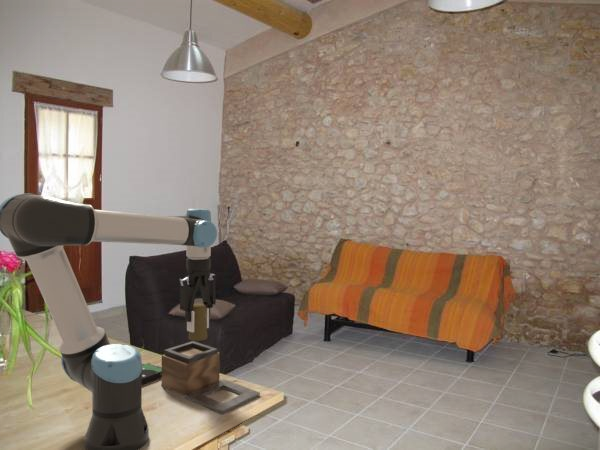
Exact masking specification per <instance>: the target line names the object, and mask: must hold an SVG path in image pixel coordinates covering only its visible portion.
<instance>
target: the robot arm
mask: <svg viewBox="0 0 600 450" xmlns="http://www.w3.org/2000/svg"><path fill="white" fill-rule="evenodd" d="M217 230H218V229H217V226H216V225H215V224H214V223H213V222H212V213H211V210H210V209H208V208H188V209H187V210H186V214H185V215H172V216H171V215H168V216H167V215H157V214H156V215H155V214H146V213H145V214H143V213H134V212H133V213H132V212H126V211H125V212H124V211H123V212H122V211H115V210H114V211H112V210H111V211H110V210H103V209H102V210H101V209H94V207H93V206H92V205H91V204H87V203H85V204H83V203H76V202H74V201H69V200H65V199H60V198H57V197H52V196H49V195H39V194H35V193H29V192H28V193H27V192H26V193H25V192H24V193H19V194H14V195H12V196H10V197H8V198H7V199H5V200H4V201H3V202H2V203H1V204H0V233H1V234H2V235H3V237H5V238H7V239H8V241H9V243H10V245H11V247H12V250H13V251H14V254H15V255H16V257H17V258H19V259H22V260H24V261H26V263H27V265H28V268H29V269H30V271H31V272H30V273H31V274H32V276H33V278H34V281H35V283H36V285H37V287H38V289H39V292H40V294H41V296H42V298H43V300H44V302H45V304H46V307H47V310H48V311H49V313H50V316H51V318H52V321H53V323H54V325H55V327H56V329H57V332H58V333H59V336H60V338H61V340H62V342H61V344H60V345H59V352H60V354H61V366H62V369H63V371H64V373H65V374H66V376H67V377H68V378H69V379H70V380H72V381H73V382H75V383H78V385H80V386H82V387H83V388H85V389H87V390H88V391H89V392H91V395H92V396H91V397H92V398H91V400H92V403H91V404H92V414H91V418H90V421H89V424H88V427H87V429H86V430H87V431H86V433H85V436H84V447H85V449H86V450H139V449H141V448H142V447H143V446H144V445H146V444H147V442H148V440H149V435H150V434H149V425H148V423H147V420H146V415H145V414H144V412H143V408H142V406H143V405H142V401H143V400H142V395H143V394H142V386H143V385H142V364H143V361H142V354H141V353H140V350H138V349H137V348H135V347H134V346H132V345H128V344H125V345H124V344H122V343H112V344H111V343H110V341H109V339H108V336H107V333H106V330H105V329H104V328H103V327H100V326H97V325H96V323H95V320H94V319H93V316H92V314H91V311H90V309H89V307H88V304H87V302H86V300H85V297H84V294H83V292H82V290H81V287H80V284H79V282H78V280H77V277H76V274H75V273H74V271H73V270H74V269H73V268H72V266H71V264H70V263H71V262H70V261H69V258H68V256H67V254H66V251H65V249H64V246H89V245H90V244H91V243H92V242H95V243H96V242H98V243H123V244H124V243H125V244H144V245H145V244H147V245H148V244H149V245H169V246H172V245H174V246H185V247H186V253H185V254H186V257H187V258H186V264H185V266H186V270H187V273H186V275H185V277H184V278H183V279H182V278H179V279H178V282H179V288H180V289H179V310H180V311H184V313H185V317H184V318H185V319H184V320H185V322H186V331H187V332H188V333H189V332H192V333H193V332H194V311H192V310H193V305H194V304H195V300H196V295H197V292H198V290H199V289H200V293H201V298H202V304H204V305H205V306H206V308H207V310H206V313H205V321H206V329H210V317H211V309H213V307H214V305H216V301H217V300H216V299H217V298H216V297H217V295H216V286H217V285H216V284H217V283H216V282H217V277H218V275H217V274H214V273H211V272H210V269H211V267H212V266H211V265H212V264H211V261H212V259H211V258H210V257H211V256H212V255H211V252H212V251H211V250H212V249H211V247H212V245H213V244H214V243H216V240H217V238H218V231H217Z"/></svg>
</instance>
